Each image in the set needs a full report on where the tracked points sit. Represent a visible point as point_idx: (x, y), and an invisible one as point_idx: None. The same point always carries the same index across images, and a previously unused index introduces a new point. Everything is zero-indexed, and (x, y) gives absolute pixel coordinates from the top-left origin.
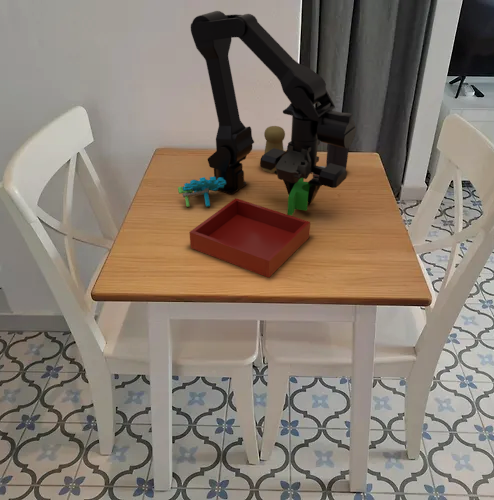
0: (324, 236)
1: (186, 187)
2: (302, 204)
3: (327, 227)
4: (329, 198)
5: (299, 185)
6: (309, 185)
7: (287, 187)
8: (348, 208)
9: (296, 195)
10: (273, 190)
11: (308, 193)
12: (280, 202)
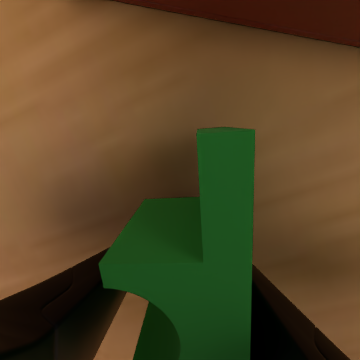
0: (13, 41)
1: None
2: (160, 212)
3: (36, 126)
4: (113, 325)
5: (204, 356)
6: (15, 345)
7: (296, 318)
8: (31, 282)
9: (197, 240)
10: (335, 331)
11: (158, 312)
12: (286, 255)
